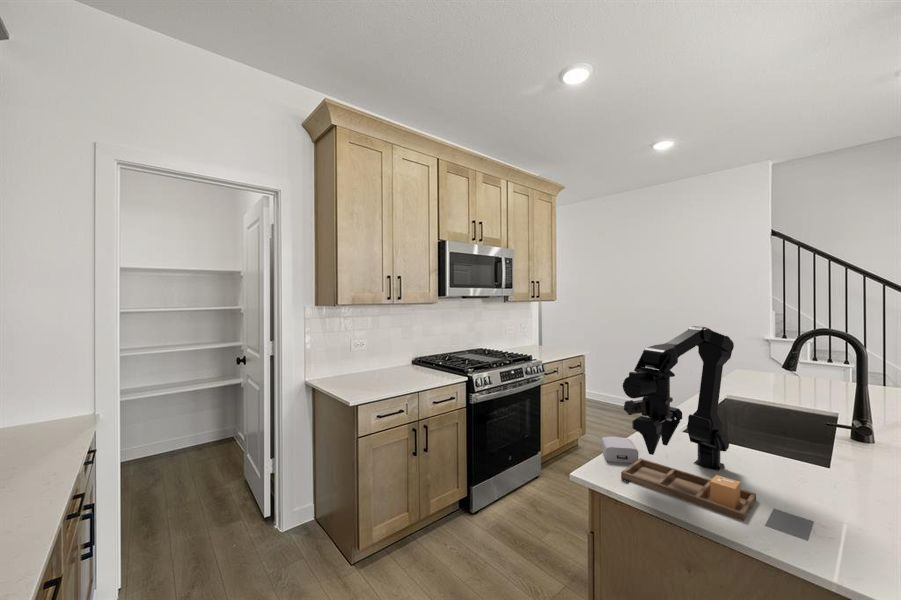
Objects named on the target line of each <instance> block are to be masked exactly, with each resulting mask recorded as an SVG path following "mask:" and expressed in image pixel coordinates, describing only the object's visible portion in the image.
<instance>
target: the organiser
mask: <svg viewBox="0 0 901 600" xmlns="http://www.w3.org/2000/svg"><path fill="white" fill-rule="evenodd" d="M620 473H621V474H620V477H621V479H622V480H621V479H620V480H621V481H624V480H625V481H624V482H627V481H628V483H629V482H630V483H632V482H633V483H635V484H638V485H640V486H644V487H647V488H648V489H649V488H650V489H653V490H655V491H657V492H660V493H663V494H667V495H669V496H672V497H675V498H678V499H680V500H683V501H685V502H689V503H691V504H694V505H697V506H699V507H702V508H705V509H709V510H711V511H714V512H717V513H719V514H722V515H725V516H728V517H731V518H733V519H736V520H739V521H742V522H744V521H745V519H746V518H747V516H748V514H749V513H750V511H751V510H752V508H753V506H754V505H755V503H756V501H757V493H755V492H751V491H748V490H745V489H741V488H740V503H739V505H738V506H737V508H736V509H732V508H729V507H726V506H723V505H721V504H718V503H715V502H712V501H710V481H711V480H712V479H708V478H706V477H702V476H699V475H695V474H693V473H690V472H686V471H684V470H680V469H677V468H674V467H670V466H666V465H663V464H660V463H657V462H654V461H651V460H647V459H645V458H638V460H637V461H636V462H635V463H631V464H630V465H629V466H628V467H625V468H624V469H623V470H621V472H620Z"/></svg>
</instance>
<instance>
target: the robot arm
mask: <svg viewBox="0 0 901 600" xmlns="http://www.w3.org/2000/svg"><path fill="white" fill-rule="evenodd" d="M696 347H697V349H698V351H697V352H698V355H699V357H700V359H701V362H702V370H701V377H700V378H701V379H700V386H699V394H698V401H697V408H696V411H695V412H693V414H691V413H690V414H688V417H687V420H688V421H687V424H686V428H687V429H686V431H687V434H688V438H689V441H690V443H694V444H697V459H696V460H695V461H694V462H693V465H696V466H699V467H702V468H706V469H709V470H713V471H716V472H718V471H720V470H722V469H723V468H724V467H725V463H721V452H727V450H728V449H729V447H730V441H729V439H728V438H727V437H726V435H725V434H724V433H723V423H722V421H721V419H720V417H719V416H718V415H719V414H718V409H719V400H720V393H721V392H720V391H721V385H722V376H723V370H724V369H723V368H724V365H725V364H726V363H727V362H728V361H730V359H731V358H732V353H733V350H734V347H735V344H734V341H733V339H731V337H729V336H728V335H724V334H722V333H719V332H716V331H713V330H712V329H710V328H709V327H706V326H695V325H692V326H690V327H688V329H687V330H685V331H683V332H682V333H681V334H679V335H677V336H676V337H674V338H672V339H670V340H669V341H667V342H665V343H661V344H660V343H659V344H655V345H654V344H653V345H651V346H648V347H645V349H644V350H643V351H642V353H641V355H640V357H639V360H638V361H637V364H636V365H635V368H634V371H630V372H629V373H628V377H626V378H624V380H623V383H622V390H623V392H624V394H625V395H626V396H627V397H628V398H630V400H626V401H624V404H623V410H624V411H625V412H626V413H627V415H628V416H632V415H634V414H635V415H636V414H641V416H638V417H637V418H635V419H634V420H632V421H631V424H632V425H631V428H632V429H633V430H635V431H636V432H637V433H640V435H641V436H642V438H643V441H644V443H645V446H646V450H647V452H648V454H649V455H651V456H653V455H654V454H655V452H656V449H657V447H658V444H659V441H660V439H661V442H662V445H663V446H668V445H669V443H670V440H671V439H672V437H673V435H674V433H675V431H676V429H677V428H678V426H679V424H680V423H681V420H682V419H683V411H682V410H681V409H680V408H677V407H672V406H671V403H672V402H673V401H674V400H673V398H674V397H672V396H671V394H670V393H671V389H670V388H671V384H670V383H671V378H672V377H675V376H676V374H675V373H674V372H673V371H672V369H673V368H674V367H675V366H676V365H677V364H678V363H679V357H681V356H683V355H684V354H686V353H687V352H689V351H691V350H692V349H694V348H696ZM640 398H642V399H640ZM631 399H632V400H631ZM633 399H639V400H633Z"/></svg>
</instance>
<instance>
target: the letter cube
mask: <svg viewBox="0 0 901 600" xmlns="http://www.w3.org/2000/svg"><path fill="white" fill-rule="evenodd" d="M710 480H711V481H710V501H712V502H715V503H718V504H721V505H723V506H726V507H729V508H732V509H736V508H737V506H738V505H739V503H740V489H741V481H739V480H735V479H732V478H728V477H724V476H722V475H718V474H716V475H715V476H714V477H713V478H712V479H710Z"/></svg>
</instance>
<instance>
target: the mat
mask: <svg viewBox="0 0 901 600" xmlns="http://www.w3.org/2000/svg"><path fill="white" fill-rule="evenodd" d="M814 522H815V521H814V520H811V519H808V518H805V517H802V516H798V515H796V514H792V513H789V512H786V511H784V510H780V509H776V508H773V509H772V511H771V513H770V515H769V516H768V519H767V520H766V523H765V524H764V527H766V528H767V527H768V528H771V529H773V530H777V531H779V532H781V533H784V534H787V535H790V536H792V537H796V538H799V539H802V540H804V541H806V542H808V541H809V539H810V535H811V533H812V532H811V531H812V529H813V527H814V526H813V525H814Z"/></svg>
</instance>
